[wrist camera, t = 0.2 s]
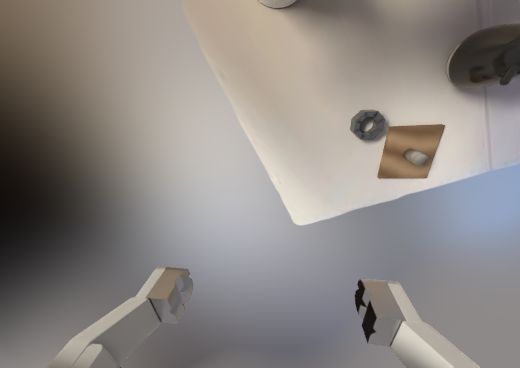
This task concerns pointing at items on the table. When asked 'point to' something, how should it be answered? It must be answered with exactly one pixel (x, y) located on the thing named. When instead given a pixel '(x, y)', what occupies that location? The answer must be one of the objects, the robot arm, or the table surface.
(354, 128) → the ring
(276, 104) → the table surface
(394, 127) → the piston stand
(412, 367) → the robot arm
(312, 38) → the table surface
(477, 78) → the black rounded piece
